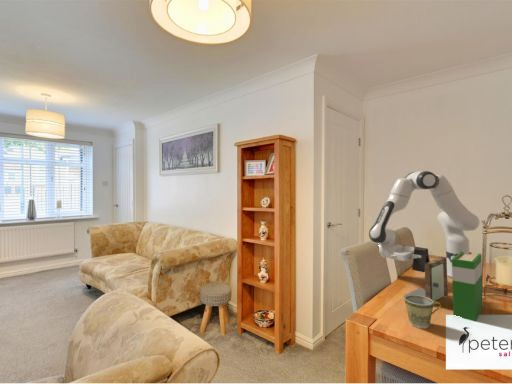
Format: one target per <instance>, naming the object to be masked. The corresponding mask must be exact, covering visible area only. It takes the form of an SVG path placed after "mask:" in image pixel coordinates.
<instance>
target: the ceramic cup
mask: <svg viewBox="0 0 512 384" xmlns="http://www.w3.org/2000/svg"><path fill="white" fill-rule="evenodd" d="M404 296H405V295H404ZM404 304H405V308H406V313H407V316H408V321H409V324H410V326H412V327H414V328H418V329H422V330H424V329H425V330H426V329H428V328H429V327H431V321H432V315H433V314H435V313H436V312H437V311H438V310H440V309H441V307H442V304H441V303H440V302H439V301H437V300H436V301H434V302H433V300H431V299H429V298H427V297H424V296H419V295H408V296H405V297H404ZM437 304H439V306H438V308H435V309H434V305H437Z"/></svg>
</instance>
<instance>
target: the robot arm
mask: <svg viewBox="0 0 512 384" xmlns="http://www.w3.org/2000/svg"><path fill="white" fill-rule="evenodd" d="M392 186H393V187H392V188H391V190H390V194H389V196H388V198H387V200H386V201H385V202H384V204H383V206H382V208H381V210H380V212H379V214H378V215H377V217H376V220H375V222H374V223H373V225H372V226H371V228H370V229H369V231H368V236H369V239H370V241H371V242H372V243H373V242H374V243H378V244H379V243H380V244H379V245H378V246H379V253H380V255H381V256H382V257H381V258H384V259H388V258H389V259H391V260H396V261H401V262H407V261H410V260H412V259H414V258H421V255H415V254H414V248H415V247H416V246H415V247H414V246H408V245H407V244H395V243H396V239H397V235H396V232H395V230H393V228H392V229H391V228H388V227H387V225H388V223H389V221H390V218H391V217H392V215H394V213H396V212H400V211H402V210H405V208H406V207H408V204H409V203H410V199H411V196H412V193H413V192H414V191H416V190H429V192H430V194H431V196H432V198H433V199H434V202H435V203H436V205H437V207H438V208H439V209H441V210H442V211H441V212H439V213H438V215H437V222H438V224H439V225H440V226H441V227H442V230H443V233H444V236H445V241H446V243H445V244H446V251H445V257H447V277H450V278H452V259H453V258H454V257H455V256H456V255H458V254H459V253H460V252H463V253H464V254H471V255H472V252H471V251H470V241H469V240H470V239H469V237H467V236H466V234H465V232H468V231H475V230H476V229H478V228H479V226H480V219H479V217H478V216H477V215H476V214H474V213H473V212H471V211H470V210H469V209H468V208H467V207H466V206H465V204H463V203H462V201H461V200H460V199H459V197H458V196H457V194H456V192H455V190H454V188H453V186H452V185H451V183H450V181H449V180H448V179H447V177H445V176H444V175H443V174H435V173H433V172H431V171H428V170H417V171H412V172H409V173H408V174H407V175H406V176H405V177H401V178H400V177H399V178H397V179H396V181H395V182H394V184H393V185H392Z"/></svg>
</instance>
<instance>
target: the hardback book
mask: <svg viewBox="0 0 512 384" xmlns="http://www.w3.org/2000/svg"><path fill="white" fill-rule="evenodd" d="M482 259H483V257H482V253H478V254H472V253H471V254H464V253H463V252H460V253H459V254H458V255H456V256H455V257H454V258H453V259H452V277H451V278H452V307H453V308H452V310H453V311H452V312H453V315H456V316H460V317H462V318H461V319H464V320H468V321H472V322H476V321H477V320H478V318H479V316H480V314H481V312H482V310H483V308H484V306H483V302H484V301H483V299H484V298H483V266H482V265H483V262H482ZM456 316H455V317H456ZM460 317H459V318H460Z"/></svg>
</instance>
